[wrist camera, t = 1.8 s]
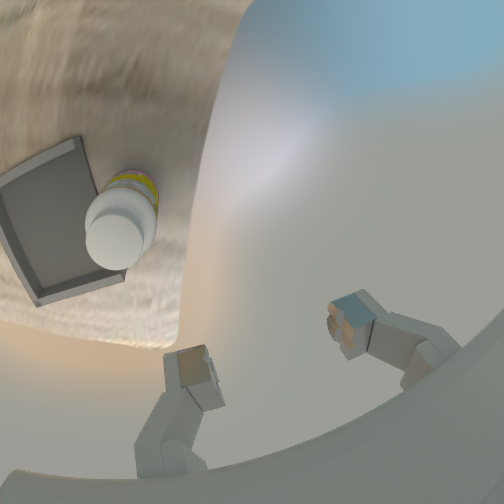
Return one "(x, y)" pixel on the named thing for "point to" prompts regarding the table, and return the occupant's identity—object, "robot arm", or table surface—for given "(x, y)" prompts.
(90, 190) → the tray
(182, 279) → the table surface
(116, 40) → the table surface
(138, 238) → the supplement bottle
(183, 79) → the table surface
